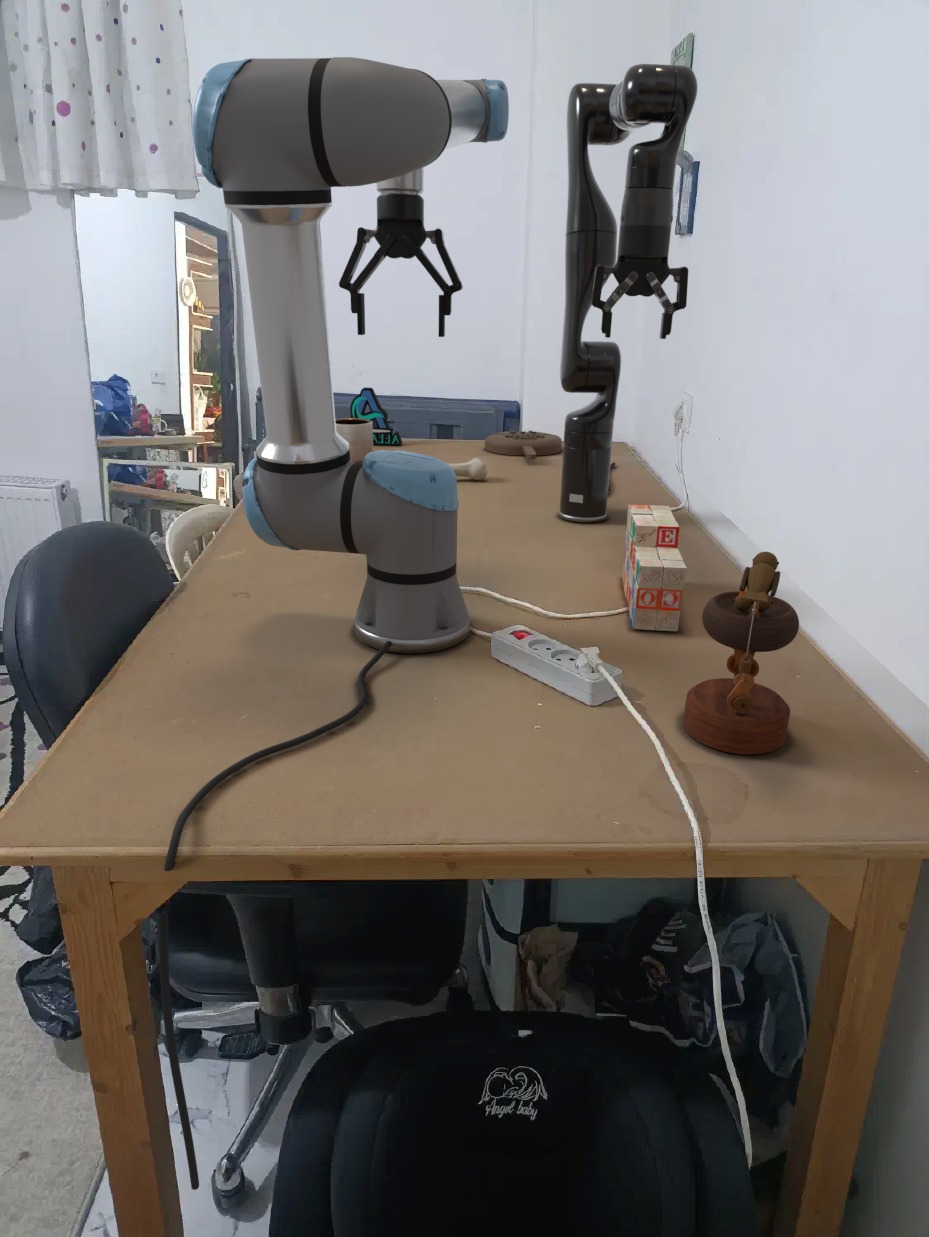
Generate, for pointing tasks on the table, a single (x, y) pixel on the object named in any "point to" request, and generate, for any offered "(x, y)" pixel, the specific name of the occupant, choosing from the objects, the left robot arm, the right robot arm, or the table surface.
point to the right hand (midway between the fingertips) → (634, 338)
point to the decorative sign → (374, 417)
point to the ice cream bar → (523, 443)
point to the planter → (356, 436)
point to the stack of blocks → (653, 568)
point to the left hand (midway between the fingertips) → (401, 335)
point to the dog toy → (471, 469)
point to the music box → (744, 666)
